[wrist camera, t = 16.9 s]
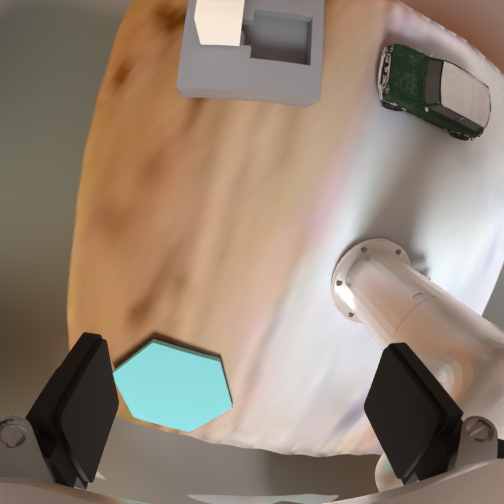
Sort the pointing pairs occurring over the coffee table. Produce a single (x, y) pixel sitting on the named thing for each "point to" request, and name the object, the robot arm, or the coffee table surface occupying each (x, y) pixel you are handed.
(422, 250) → the coffee table surface
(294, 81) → the keyhole board
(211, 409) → the plaque
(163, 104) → the coffee table surface
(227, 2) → the keyhole peg
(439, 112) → the miniature car
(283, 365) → the coffee table surface
